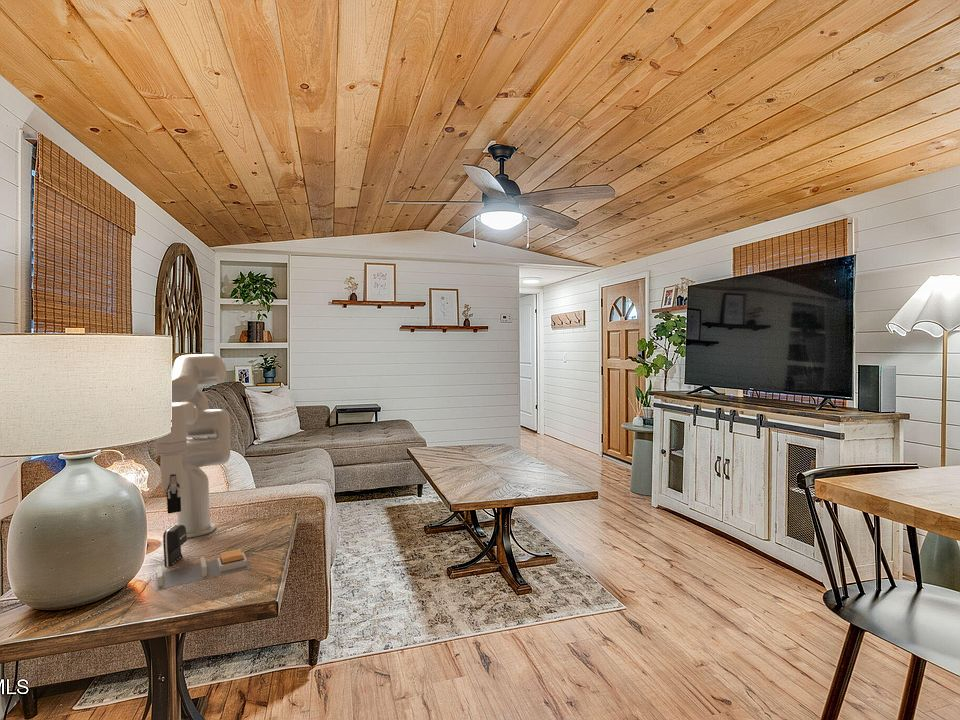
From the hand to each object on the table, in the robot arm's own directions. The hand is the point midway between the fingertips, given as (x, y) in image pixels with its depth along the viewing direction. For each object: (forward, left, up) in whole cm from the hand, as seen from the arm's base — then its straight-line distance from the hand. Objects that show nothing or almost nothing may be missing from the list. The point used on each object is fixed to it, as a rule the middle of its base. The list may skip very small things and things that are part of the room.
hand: (174, 508), depth 145 cm
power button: (+11, +13, -14) cm, 22 cm away
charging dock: (+11, +6, -17) cm, 21 cm away
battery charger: (-1, 0, -17) cm, 17 cm away
